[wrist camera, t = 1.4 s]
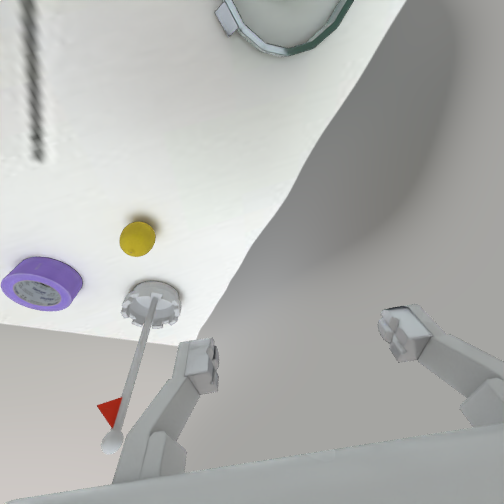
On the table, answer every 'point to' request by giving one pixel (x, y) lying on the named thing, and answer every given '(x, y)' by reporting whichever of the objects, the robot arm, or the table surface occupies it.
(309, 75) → the table surface
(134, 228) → the lemon
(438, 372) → the robot arm
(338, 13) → the dark green tabbed ring
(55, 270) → the tape roll
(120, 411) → the flag stand
